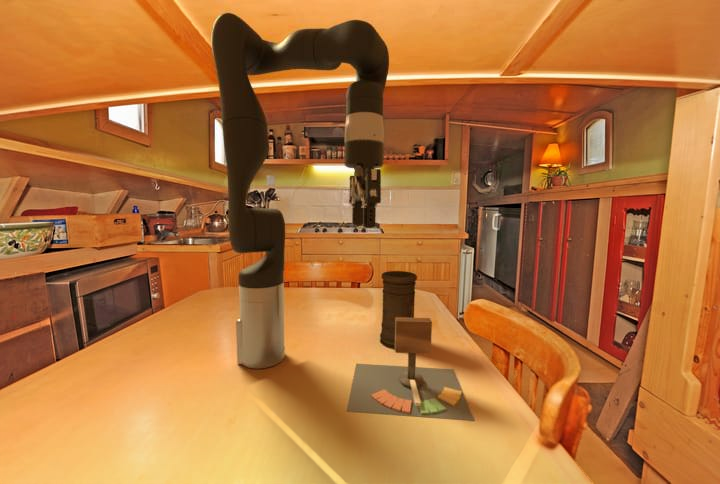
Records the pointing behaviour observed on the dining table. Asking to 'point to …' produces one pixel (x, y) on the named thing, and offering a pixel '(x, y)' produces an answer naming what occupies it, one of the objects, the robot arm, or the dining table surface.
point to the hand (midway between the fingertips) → (362, 226)
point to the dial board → (407, 393)
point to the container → (396, 302)
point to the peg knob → (412, 348)
